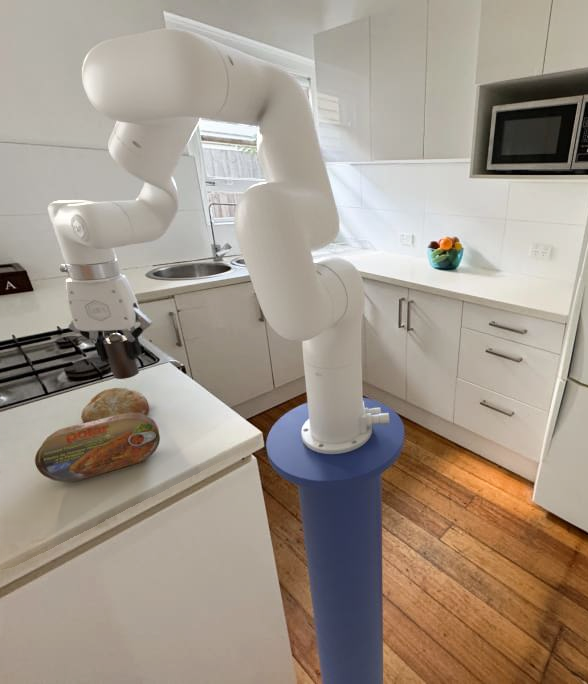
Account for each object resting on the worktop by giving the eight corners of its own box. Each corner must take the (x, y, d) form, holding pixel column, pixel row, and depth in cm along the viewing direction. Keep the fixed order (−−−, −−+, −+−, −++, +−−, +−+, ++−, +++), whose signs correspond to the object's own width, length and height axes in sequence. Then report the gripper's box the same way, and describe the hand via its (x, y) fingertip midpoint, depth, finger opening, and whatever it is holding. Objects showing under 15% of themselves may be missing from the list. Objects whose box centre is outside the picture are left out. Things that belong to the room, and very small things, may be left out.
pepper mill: (142, 368, 83) (131, 328, 79) (133, 378, 79) (121, 337, 75) (120, 369, 82) (107, 329, 78) (109, 379, 78) (95, 338, 74)
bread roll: (100, 455, 68) (97, 428, 64) (70, 417, 71) (65, 389, 66) (158, 427, 76) (159, 402, 72) (129, 394, 79) (128, 368, 74)
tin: (46, 490, 56) (24, 444, 53) (50, 477, 59) (30, 432, 55) (165, 455, 64) (152, 413, 60) (164, 445, 66) (152, 404, 63)
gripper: (27, 276, 66) (63, 368, 74) (136, 274, 70) (159, 363, 77) (55, 266, 73) (85, 352, 80) (153, 265, 76) (173, 348, 84)
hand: (121, 356), depth 79 cm, fingers closed on pepper mill, 4 cm apart
